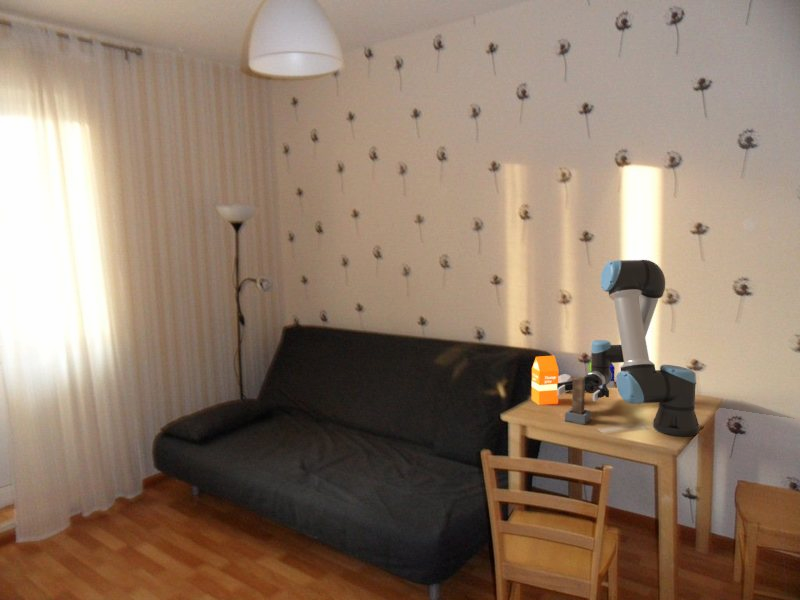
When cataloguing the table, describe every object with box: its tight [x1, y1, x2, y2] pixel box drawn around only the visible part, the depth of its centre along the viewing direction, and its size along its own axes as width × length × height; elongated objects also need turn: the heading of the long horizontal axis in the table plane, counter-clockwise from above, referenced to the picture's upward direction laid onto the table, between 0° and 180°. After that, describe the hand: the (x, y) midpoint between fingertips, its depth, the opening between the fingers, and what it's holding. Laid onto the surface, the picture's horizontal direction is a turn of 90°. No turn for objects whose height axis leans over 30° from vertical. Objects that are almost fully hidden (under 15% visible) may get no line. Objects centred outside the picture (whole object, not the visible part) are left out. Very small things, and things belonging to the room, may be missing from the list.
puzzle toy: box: [588, 361, 615, 389], centre depth 266 cm, size 10×10×10 cm
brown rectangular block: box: [571, 377, 586, 415], centre depth 216 cm, size 4×4×16 cm
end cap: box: [564, 407, 592, 426], centre depth 216 cm, size 8×8×4 cm
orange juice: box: [531, 355, 559, 406], centre depth 240 cm, size 8×9×20 cm
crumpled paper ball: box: [558, 373, 574, 394], centre depth 256 cm, size 8×9×10 cm
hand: (575, 394), depth 213 cm, fingers open, 13 cm apart
